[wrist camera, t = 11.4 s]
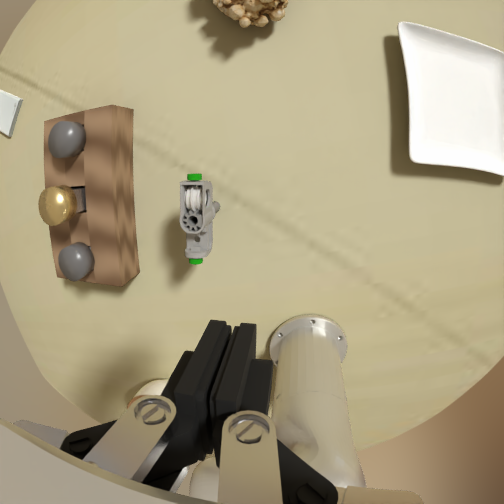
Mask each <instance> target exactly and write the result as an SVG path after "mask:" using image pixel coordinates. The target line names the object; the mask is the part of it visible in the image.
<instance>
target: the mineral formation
mask: <svg viewBox="0 0 504 504" xmlns="http://www.w3.org/2000/svg"><path fill="white" fill-rule="evenodd" d="M213 4H214V5H217V7H218V9H219V10H220V11H221V12H223V13H224V14H225V15H227V16H229V17H230V18H233V19H234V20H239V24H240V26H241V27H243V28H246V27H248V26H249V25H250V24H251V25H254V24H255V25H256V26H259V27H264V26H265V25H266V24H267V23H268V19H267V17H266V16H265V15H263V13H265V14H268V15H269V17H270V19H271V20H273V21H279V20H281V19H282V18H283V17H284V16H285V11H284V8H286V7H287V4H288V0H213Z"/></svg>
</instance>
